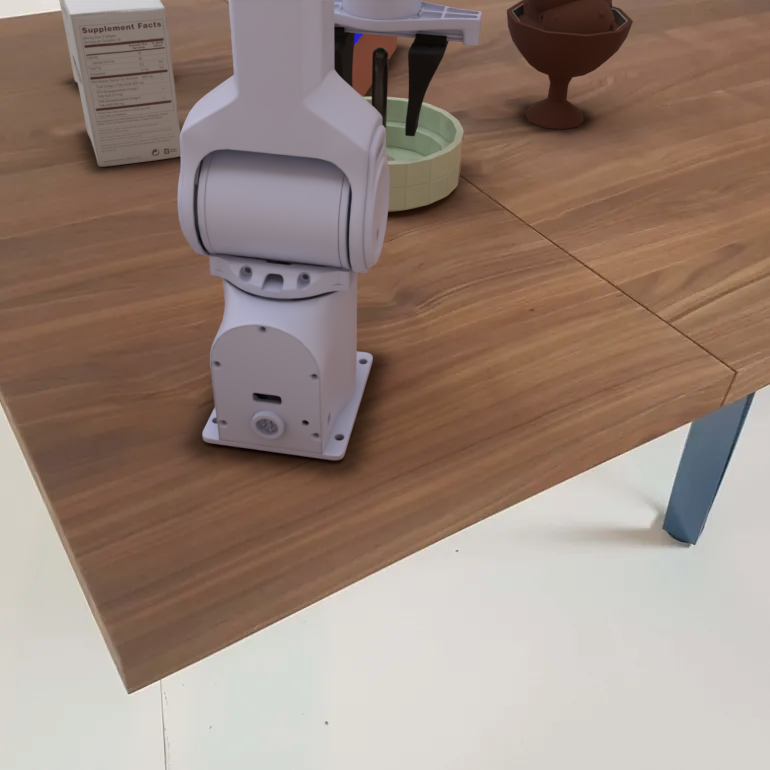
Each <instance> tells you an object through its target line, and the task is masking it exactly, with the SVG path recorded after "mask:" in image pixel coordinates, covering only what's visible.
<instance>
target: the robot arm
mask: <svg viewBox="0 0 770 770" xmlns="http://www.w3.org/2000/svg"><path fill="white" fill-rule="evenodd" d="M228 11H229V24H230V25H229V26H230V38H231V52H232V53H231V54H232V64H233V65H232V67H233V74H232V75H231V76H230V77H228V78H227V79H225V80H224V81H223V82H221V83H220V84H219V85H217V86H216V87H214V88H213V89H212V90H210V91H209V92H207V93H206V94H205V95H204V96H202V97H201V98H200V99H199V100H198V101H197V102H196V103H195V104H194V105H193V107H192V108H191V109H190V111H189V112H188V114H187V116H186V118H185V120H184V123H183V125H182V127H181V129H180V154H181V156H180V170H179V175H178V183H177V202H176V203H177V215H178V222H179V226H180V229H181V233H182V235H183V237H184V238H185V240H186V242H187V243H188V245H189V247H190V248H191V250H192V251H193V253H195V254H197V255H199V256H207V257H208V261H209V262H208V263H209V272H210V275H211V276H213V277H217V278H222V287H223V288H222V289H223V299H224V310H223V316H222V320H221V323H220V325H219V328H218V331H217V333H216V334H215V337H214V339H213V341H212V344H211V346H210V347H211V348H210V353H209V367H210V377H211V385H212V392H213V393H212V394H213V401H214V407H213V410H212V412H211V414H210V416H209V417H208V420H207V422H206V424H205V426H204V428H203V430H202V431H201V432H202V433H201V436H202V440H203V441H204V442H205V443H208V444H212V445H213V444H214V445H219V446H227V447H234V448H241V449H242V448H243V449H249V450H255V451H264V452H271V453H278V454H284V455H285V454H286V455H292V456H299V457H306V458H313V459H320V460H328V461H340V460H342V459H343V458H344V457H345V455H346V451H347V448H348V445H349V442H350V439H351V434H352V432H353V428H354V425H355V422H356V420H357V419H356V418H357V415H358V411H359V409H360V406H361V402H362V399H363V396H364V392H365V388H366V386H367V382H368V379H369V375H370V372H371V369H372V366H373V363H374V359H373V358H374V357H373V355H372V354H371V353H370V352H366V351H358V350H357V349H358V346H357V345H358V344H357V343H358V274H361V275H364V274H366V273H368V272H369V270H370V269H371V268H372V267H374V266H375V265H376V264H377V263H378V261H379V260H380V257H381V254H382V250H383V247H384V243H385V242H384V241H385V237H386V231H387V224H388V217H389V216H388V214H389V212H388V206H389V190H390V175H389V165H388V162H387V160H386V129H385V127H384V126H383V125H382V116H381V114H380V113H379V112H378V111H377V110H376V109H375V108H374V107H373V106H372V105H371V104H370V103H369V102H368V101H367V100H366V99H364V98H363V97H362V96H361V95H360V94H359V93H358V92H357V91H355V90H354V89H353V83H352V69H353V50H354V37H355V33H362V34H373V35H385V36H397V38H411V39H414V40H413V42H411V45H410V47H409V49H408V53H407V64H408V66H407V67H408V98H407V99H408V107H407V115H406V124H405V136H415V133H416V130H417V127H418V121H419V115H420V110H421V106H422V102H424V99H425V96H426V93H427V91H428V88H429V86H430V84H431V82H432V80H433V78H434V75H435V74H436V72H437V70H438V68H439V66H440V65H441V62H442V61H443V58H444V56H445V53H446V50H447V47H448V45H449V42H457V43H462V45H463V46H468V47H478V45H479V42H480V37H481V28H482V18H483V12H482V11H481V10H472V9H464V8H460V7H459V8H458V7H453V6H448V5H443V4H438V3H433V2H429V1H423V0H228Z"/></svg>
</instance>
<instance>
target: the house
mask: <svg viewBox="0 0 770 770" xmlns="http://www.w3.org/2000/svg"><path fill="white" fill-rule="evenodd" d="M397 44H398V37H397V36H385V35H373V34H362V33H355V37H354V50H353V69H352V83H353V89H354V90H355V91H357V92H358V93H359V94H360V95H361V96H362V97H365V95H366V94H367V93H368V91H369V90H370V88H372V58H373V51H374V50H375V49H376V48H378V47H383V48H385V49H386V50H387V51H388V61H389V60H390V59H391V57H392V56H393V54H394V53H395V51H396V50H397V47H398V45H397Z"/></svg>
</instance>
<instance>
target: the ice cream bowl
mask: <svg viewBox="0 0 770 770" xmlns="http://www.w3.org/2000/svg"><path fill="white" fill-rule="evenodd" d="M506 19H507V28H508V32H509V34H510V37H511V39H512V42H513V44H514V45H515V47H516V48H517V50H518V52H519V53H520V54H521V56H522V57H523V58H524V60H525V61H526V62H527V63H528V64H529V66H531V67H532V68H533V69H535V70H536V71H537V72H540V73H541V74H544V75H547V76H548V80H549V86H548V94H547V97H546V98H544V99H541V100H538V101H536V102H534V103H532V104H531V105H530V106H529V107H528V108H527V109H526V111H525V113H524V115H525V117H526V119H527V121H528V122H529V123H532V124H534V125H536V126H538V127H541V128H544V129H545V128H547V129H553V130H567V129H572V128H578V127H579V126H580V125H581V124H582V123H583V122H584V121H585V120H584V114H583V113H582V111H581V110H580V107H577V106H576V105H575V104H573V103H572V102H571V101H569V100H567V99H568V93H569V92H568V91H569V84H570V83H571V81H572V79H573V78H577V77H583V76H586V75H588V74H590V73H592V72H594V71H596V70H597V69H598V68H600V67H601V66H602V65H604V64H605V62H607V61H608V60H609V59H611V58H612V57H613V56H614V55H615V54H616V53H618V51H619V50H620V48H621V47H622V45H623V44H624V42H625V41H626V40H627V38H628V35H629V32H630V30H631V27H632V26H633V22H634V20H633V19H632V18H631V17H630V16H629V15H628V14H627V13H626V12H625V11H624V10H623V9H621V8H620V7H616V6H613V0H519V1H518V2H517V3H514V5H512V6H511V7H509V8H507V9H506Z"/></svg>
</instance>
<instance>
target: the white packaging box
mask: <svg viewBox="0 0 770 770" xmlns="http://www.w3.org/2000/svg"><path fill="white" fill-rule="evenodd" d="M62 4H63V9H64V15H65V20H66V25H67V30H68V35H69V40H70V45H71V51H72V56H73V61H74V66H75V71H76V76H77V82H78V83H77V82H76V83H77V86H78V91H79V97H80V101H81V107H82V114H83V117H84V122H85V123H84V124H85V128H86V133H87V135H88V137H89V139H90V142H91V146H92V148H93V151H94V155H95V158H96V163H97V166H98V167H101V168H106V167H115V166H120V165H121V166H122V165H129V164H138V163H146V162H152V161H159V160H167V159H168V160H169V159H174V158H181V154H180V133H181V128H180V127H181V126H180V119H179V109H178V103H177V94H176V93H177V92H176V85H175V84H176V83H175V77H174V70H173V68H174V67H173V60H172V51H171V43H170V34H169V27H168V21H167V20H168V19H167V13H166V8H165V6H164V4H163V2H162V1H161V0H62Z"/></svg>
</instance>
